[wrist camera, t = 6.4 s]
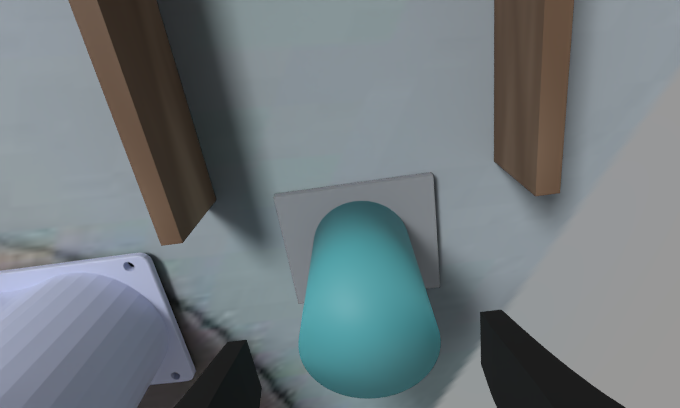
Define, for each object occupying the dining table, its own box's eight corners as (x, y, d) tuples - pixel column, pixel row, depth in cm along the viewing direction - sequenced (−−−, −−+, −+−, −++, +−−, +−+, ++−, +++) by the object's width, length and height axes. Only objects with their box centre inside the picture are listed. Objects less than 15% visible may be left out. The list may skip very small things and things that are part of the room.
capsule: (322, 289, 19) (312, 404, 13) (305, 207, 17) (285, 298, 11) (412, 278, 19) (444, 391, 13) (404, 194, 17) (436, 279, 11)
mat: (299, 299, 20) (298, 303, 20) (275, 193, 18) (273, 197, 17) (438, 282, 19) (440, 287, 19) (431, 172, 17) (433, 175, 17)
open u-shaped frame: (199, 202, 18) (161, 245, 14) (83, -161, 13) (-23, -241, 9) (513, 158, 17) (559, 192, 13) (521, -254, 12) (602, -386, 8)
